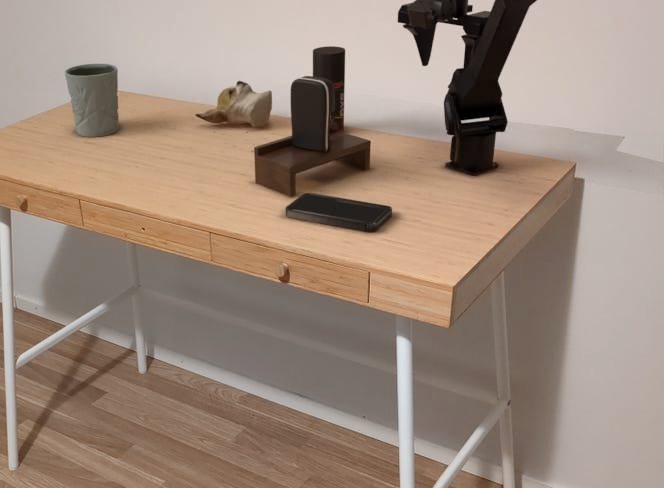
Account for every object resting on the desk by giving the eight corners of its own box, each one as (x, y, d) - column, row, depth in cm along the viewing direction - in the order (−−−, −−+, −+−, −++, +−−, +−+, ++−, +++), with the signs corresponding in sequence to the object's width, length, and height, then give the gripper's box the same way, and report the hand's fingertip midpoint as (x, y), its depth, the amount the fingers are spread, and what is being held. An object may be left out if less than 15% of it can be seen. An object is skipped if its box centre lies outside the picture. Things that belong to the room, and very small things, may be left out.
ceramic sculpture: (256, 89, 167) (190, 86, 174) (259, 135, 171) (195, 130, 179) (284, 75, 174) (219, 73, 182) (286, 120, 179) (223, 116, 186)
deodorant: (342, 135, 169) (343, 54, 161) (310, 135, 170) (310, 54, 162) (345, 126, 174) (346, 46, 166) (314, 125, 175) (314, 46, 167)
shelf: (369, 169, 153) (371, 133, 150) (290, 197, 144) (289, 160, 141) (333, 156, 159) (333, 122, 156) (255, 183, 151) (253, 147, 147)
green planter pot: (63, 134, 179) (54, 73, 173) (94, 120, 186) (87, 60, 180) (103, 140, 174) (95, 77, 168) (134, 125, 181) (127, 65, 175)
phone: (374, 225, 130) (282, 209, 137) (373, 233, 131) (283, 215, 138) (394, 206, 136) (306, 191, 143) (394, 213, 136) (306, 198, 143)
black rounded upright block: (337, 147, 149) (338, 77, 143) (324, 154, 146) (325, 83, 140) (303, 140, 152) (302, 72, 146) (289, 146, 150) (288, 77, 144)
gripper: (377, -25, 150) (373, 70, 158) (466, -14, 137) (457, 89, 145) (422, -34, 156) (416, 58, 164) (511, -24, 143) (500, 75, 151)
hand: (445, 70), depth 156 cm, fingers open, 9 cm apart
